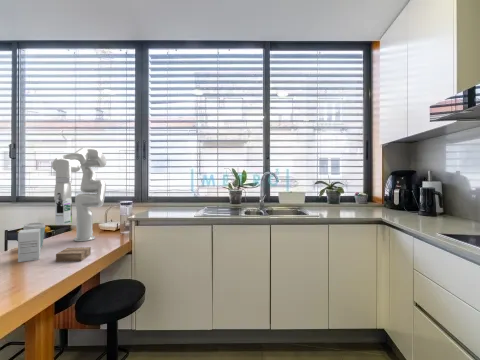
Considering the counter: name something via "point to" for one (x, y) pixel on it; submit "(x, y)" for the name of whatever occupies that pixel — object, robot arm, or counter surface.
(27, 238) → the supplement box
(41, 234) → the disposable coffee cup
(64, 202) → the syrup box
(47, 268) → the counter surface
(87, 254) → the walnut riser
